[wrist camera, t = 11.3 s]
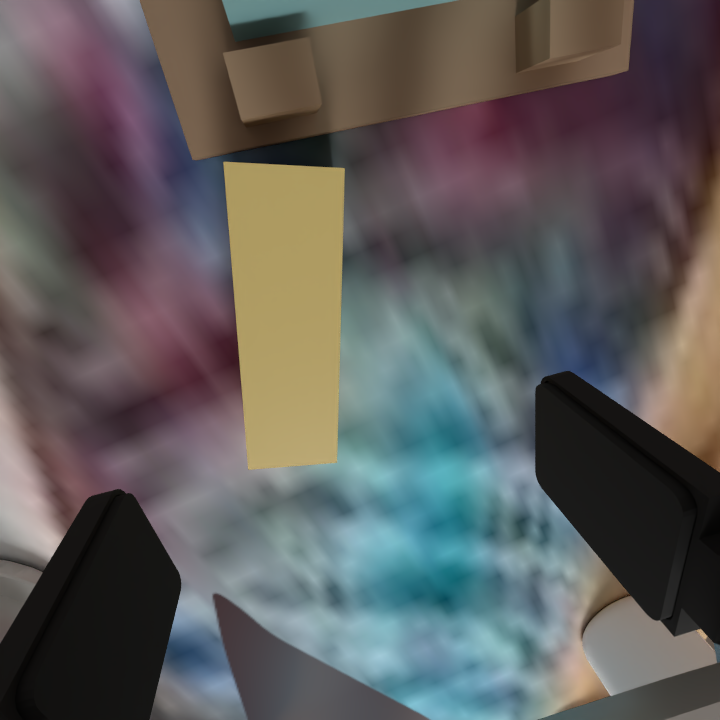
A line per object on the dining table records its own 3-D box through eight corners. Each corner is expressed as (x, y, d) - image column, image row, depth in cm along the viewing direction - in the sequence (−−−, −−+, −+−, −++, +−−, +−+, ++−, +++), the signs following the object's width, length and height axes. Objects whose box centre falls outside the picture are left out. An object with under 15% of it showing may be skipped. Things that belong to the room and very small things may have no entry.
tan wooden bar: (252, 426, 24) (248, 469, 21) (233, 164, 19) (223, 161, 15) (328, 421, 25) (336, 462, 21) (332, 170, 19) (344, 168, 16)
